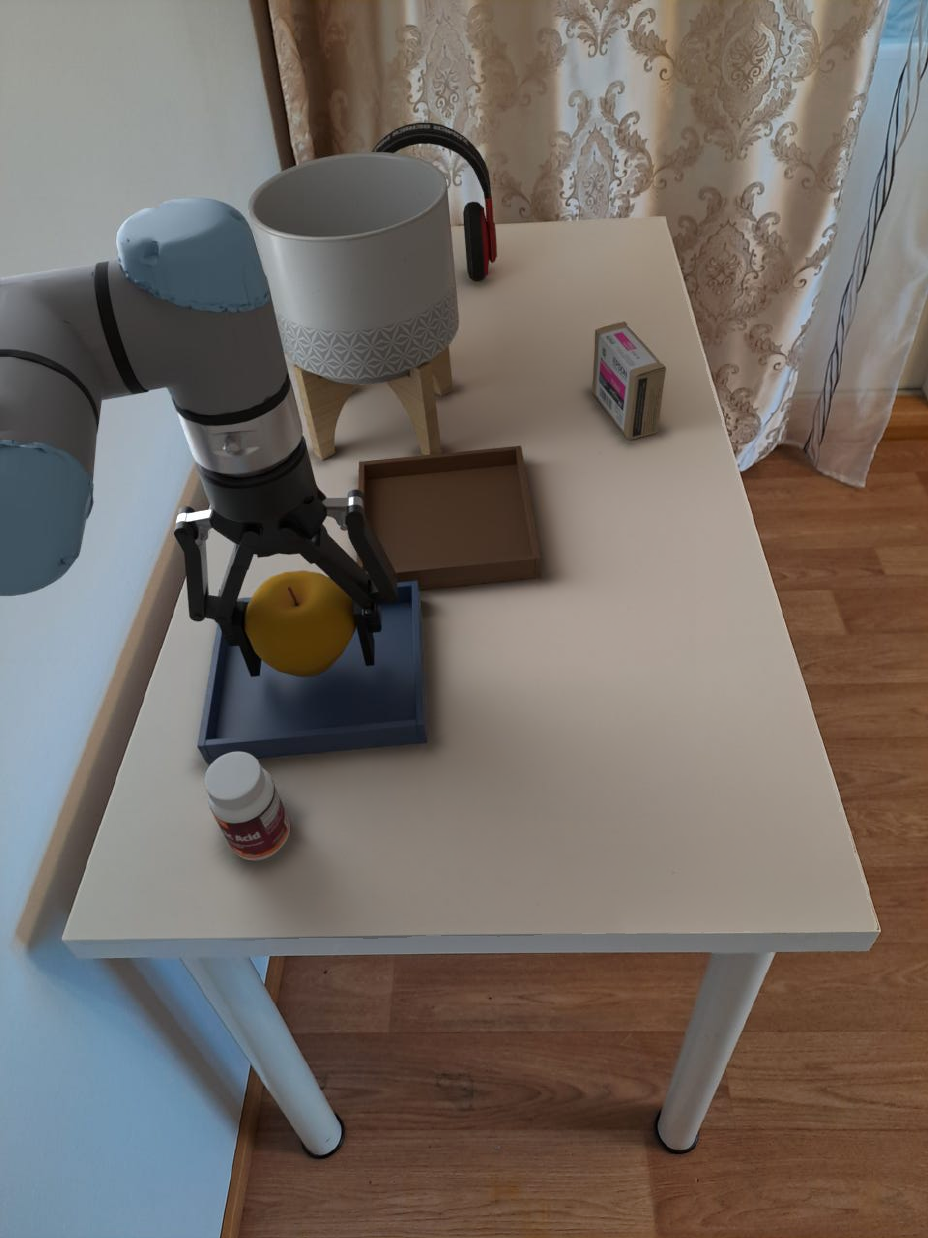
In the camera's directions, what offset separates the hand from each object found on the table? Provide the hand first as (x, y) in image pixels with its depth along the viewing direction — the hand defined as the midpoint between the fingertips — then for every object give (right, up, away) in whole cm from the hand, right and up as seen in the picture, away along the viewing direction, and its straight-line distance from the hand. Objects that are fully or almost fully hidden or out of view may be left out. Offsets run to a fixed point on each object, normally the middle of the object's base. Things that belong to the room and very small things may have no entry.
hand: (313, 658), depth 78 cm
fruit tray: (0, -2, +2) cm, 2 cm away
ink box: (+31, +27, +24) cm, 48 cm away
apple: (0, 0, 0) cm, 0 cm away
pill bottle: (-3, -13, -8) cm, 16 cm away
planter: (+4, +26, +27) cm, 38 cm away
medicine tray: (+11, +13, +14) cm, 22 cm away
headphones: (+9, +50, +48) cm, 70 cm away
